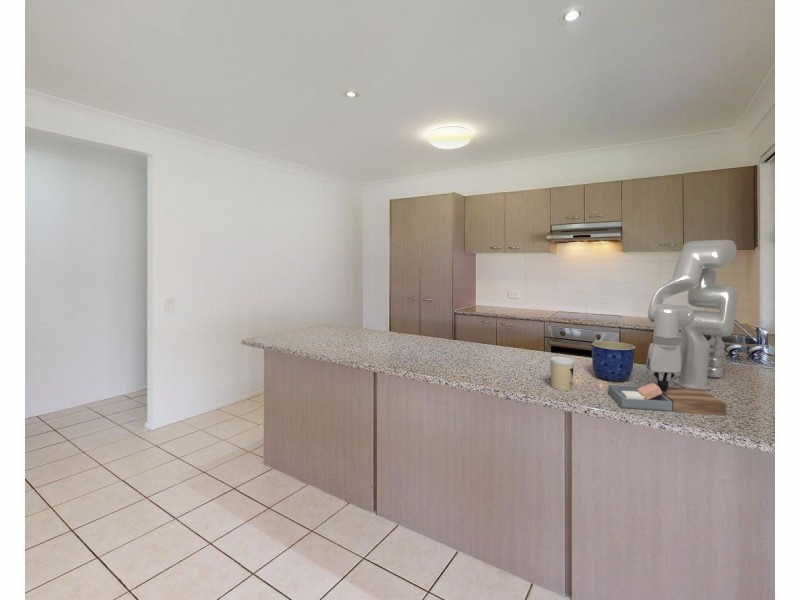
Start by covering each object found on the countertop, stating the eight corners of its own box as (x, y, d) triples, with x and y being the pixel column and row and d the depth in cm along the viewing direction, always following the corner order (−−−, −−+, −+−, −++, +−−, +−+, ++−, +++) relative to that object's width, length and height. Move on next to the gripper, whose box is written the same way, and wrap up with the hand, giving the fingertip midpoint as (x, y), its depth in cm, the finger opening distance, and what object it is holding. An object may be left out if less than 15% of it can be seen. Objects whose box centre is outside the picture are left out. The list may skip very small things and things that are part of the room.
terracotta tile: (640, 394, 152) (636, 389, 152) (655, 388, 150) (652, 382, 150) (646, 400, 146) (642, 394, 146) (662, 393, 144) (659, 387, 144)
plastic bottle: (714, 374, 183) (717, 331, 181) (726, 379, 176) (730, 334, 174) (700, 375, 183) (703, 331, 181) (712, 379, 176) (715, 334, 174)
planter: (640, 385, 168) (642, 349, 167) (597, 383, 171) (599, 348, 169) (624, 374, 185) (626, 341, 183) (585, 372, 188) (586, 340, 186)
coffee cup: (575, 391, 161) (576, 362, 160) (551, 390, 163) (552, 361, 161) (570, 384, 170) (571, 356, 169) (547, 383, 172) (548, 356, 170)
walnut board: (653, 396, 155) (654, 386, 155) (700, 399, 152) (701, 388, 151) (672, 411, 139) (673, 400, 139) (725, 415, 136) (726, 403, 136)
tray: (608, 393, 158) (608, 385, 158) (653, 396, 155) (653, 387, 155) (621, 408, 143) (622, 398, 142) (671, 411, 140) (672, 401, 139)
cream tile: (638, 391, 151) (638, 398, 152) (621, 390, 153) (620, 396, 153) (644, 396, 145) (644, 403, 146) (626, 395, 147) (626, 402, 147)
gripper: (683, 339, 147) (680, 388, 149) (638, 338, 150) (636, 386, 152) (693, 344, 140) (690, 395, 142) (646, 342, 143) (643, 392, 145)
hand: (662, 390), depth 147 cm, fingers closed
